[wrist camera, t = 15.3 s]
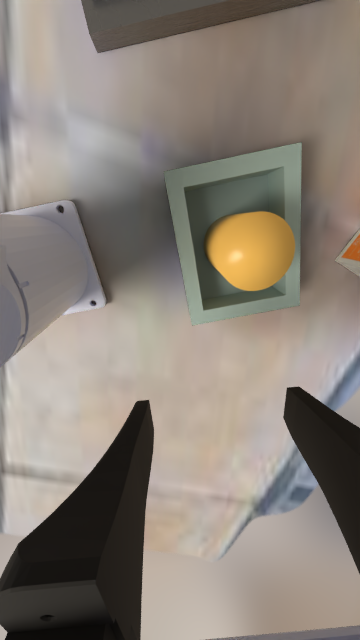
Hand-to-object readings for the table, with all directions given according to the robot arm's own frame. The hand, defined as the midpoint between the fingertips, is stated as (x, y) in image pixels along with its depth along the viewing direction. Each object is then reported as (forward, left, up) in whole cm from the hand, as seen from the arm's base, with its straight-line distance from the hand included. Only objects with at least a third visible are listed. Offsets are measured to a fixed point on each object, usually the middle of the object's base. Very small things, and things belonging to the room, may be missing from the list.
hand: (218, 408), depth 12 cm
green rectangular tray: (+4, +7, -9) cm, 12 cm away
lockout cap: (+3, +7, -9) cm, 12 cm away
